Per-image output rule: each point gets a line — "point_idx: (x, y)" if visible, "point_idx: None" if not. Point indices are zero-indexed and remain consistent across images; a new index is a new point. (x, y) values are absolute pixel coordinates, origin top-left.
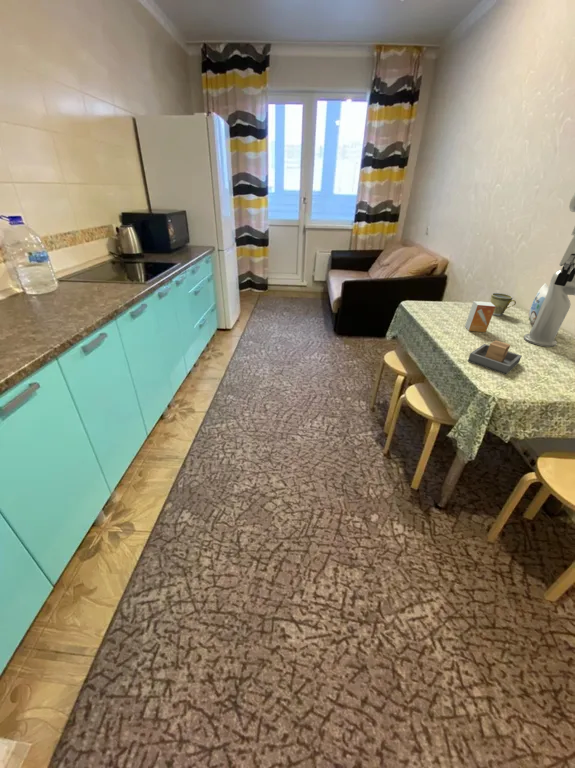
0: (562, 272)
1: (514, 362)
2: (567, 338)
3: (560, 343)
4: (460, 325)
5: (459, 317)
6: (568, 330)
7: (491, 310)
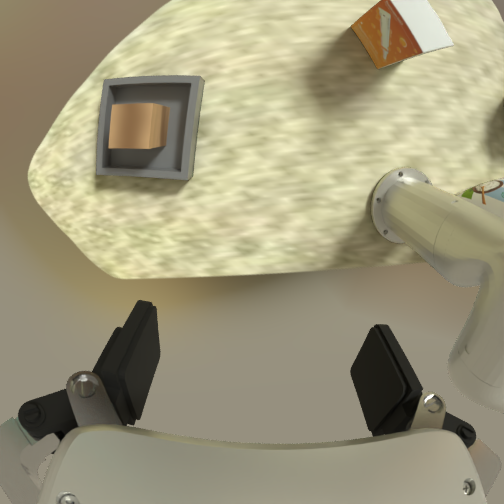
0: (74, 390)
1: (130, 175)
2: None
3: None
4: None
5: None
6: None
7: (409, 47)
